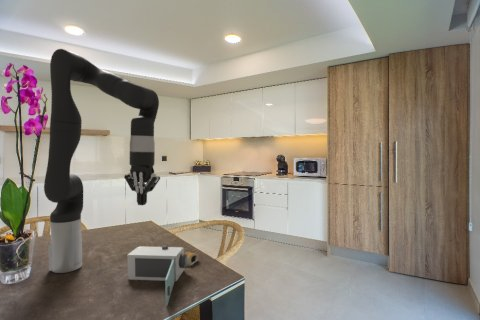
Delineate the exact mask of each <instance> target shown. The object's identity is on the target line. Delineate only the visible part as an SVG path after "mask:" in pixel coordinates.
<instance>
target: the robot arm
mask: <svg viewBox="0 0 480 320" xmlns="http://www.w3.org/2000/svg"><path fill="white" fill-rule="evenodd" d="M49 65H50V68H49V69H50V74H49V75H50V88H51V90H50V91H51V108H50V109H51V110H50V122H49V145H48V159H47V165H46V172H45V176H44V177H45V178H44V183H43V191H44V195H45V197H46V199H47V200H48V201H50V202H52V203H55V204H56V206H55V207H54V209H53V211H52V212H51V213H50V215H49V219H50V221H49V223H50V242H49V243H48V245H47V247H48V249H47V251H48V270H49V271H50V272H52V273H55V274H64V273H71V272H73V271H76V270H78V269H80V268H82V267H83V248H82V247H83V245H82V244H83V241H82V238H83V237H82V212H83V209H84V185H83V181H82V179H81V177H79V176H78V175H76V174H73V173H71V162H72V159H73V156H74V154H75V152H76V150H77V148H78V146H79V144H80V141H81V136H82V124H83V123H82V116H81V114H80V111H79V109H78V106H77V104H76V103H75V100H74V99H73V96H72V91H71V81H72V82H77V83H83V84H88V85H92V86H94V87H96V88H98V89H99V90H100V91H101V92H103V93H104V94H107V95H108V96H111V97H112V98H114V99H116V100H119V101H121V102H122V103H123V104H125V105H127V106H128V107H130V108H134V109H138V110H139V112H138V116H136V117H133V118H131V120H130V138H129V139H130V140H129V165H130V169H129V173H128V174H124V179H125V181H126V183H127V184H128V187H129V188H130V189H131V191H132V192H135V193H136V203H137V206H145V205H146V204H147V202H148V193H149V192H152V191H153V190H154V189H155V188H156V186H157V184H158V183H159V182H160V180H161V176H160V175H159V176H157V174H156V173H155V169H154V165H155V159H156V158H155V153H156V152H155V150H156V149H155V145H156V143H155V121H156V119H157V115H158V110H159V106H160V102H159V101H160V100H159V96H158V94H157V92H156V91H155V90H153V89H150V88H148V87H145V86H142V85H139V84H136V83H134V82H131V81H130V80H128V79H127V78H124V77H122V76H120V75H117V74H115V73H112V72H110V71H107V70H104V69H102V68H100V67H98V66H97V65H95V64H94V63H92V62H91V61H89V59H86V58H85V57H83V56H82V55H80V54H77V53H75V52H73V51H70V50H66V49H65V48H57V49H55V51H54V52H53V53H52V54H51V58H50V64H49Z"/></svg>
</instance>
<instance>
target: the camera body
mask: <svg viewBox="0 0 480 320" xmlns="http://www.w3.org/2000/svg"><path fill="white" fill-rule="evenodd" d="M184 251H185V249H184V247H181V246H179V247H178V246H168V244H167V245H166V244H164V245H162V246H142V245H141V246H140V245H139V246H138V247H136V248H134V249H133V250H132V251H130V252H129V253H127V254H126V255H127V256H126V257H127V280H133V281H135V280H136V281H138V280H139V281H162V282H163V281H164V282H165V279H166V276H167V273H168V271H169V268H170V265H171V262H172V258H175V273H176V281H175V282H177V281H178V280H179V278H180V277H181V275H182V274H183V272H184V271H185V269H186V268H187V267H188V266H187V262H188V257H187V254H184Z"/></svg>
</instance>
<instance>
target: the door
mask: <svg viewBox="0 0 480 320" xmlns="http://www.w3.org/2000/svg"><path fill="white" fill-rule="evenodd" d="M175 282H177V281H176V273H175V258H172V262H171V265H170V268H169V271H168V273H167V276H166V279H165V281H164V283H165V285H164V287H165V290H164V291H165V292H164V293H165V295H164V297H165V306H168V305H169V302H170V299H171V294H172V293H173V292H172V291H173V287H174V284H175Z"/></svg>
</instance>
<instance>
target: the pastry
mask: <svg viewBox="0 0 480 320" xmlns="http://www.w3.org/2000/svg"><path fill="white" fill-rule="evenodd" d="M184 254H187V257H188V262H187V266H186V267H191V266H193V265H195V263H197V262H199V255H198V254H197V253H194V252H190V251H187V252H184Z"/></svg>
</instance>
